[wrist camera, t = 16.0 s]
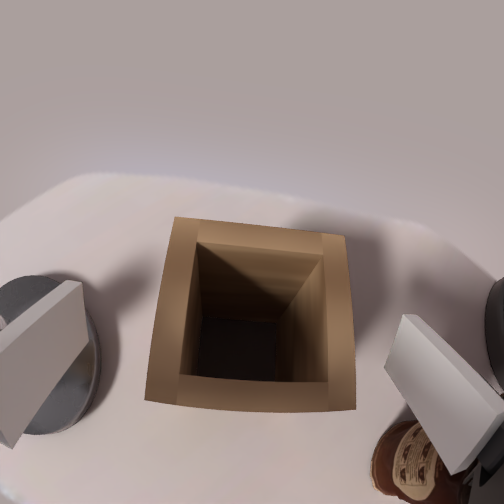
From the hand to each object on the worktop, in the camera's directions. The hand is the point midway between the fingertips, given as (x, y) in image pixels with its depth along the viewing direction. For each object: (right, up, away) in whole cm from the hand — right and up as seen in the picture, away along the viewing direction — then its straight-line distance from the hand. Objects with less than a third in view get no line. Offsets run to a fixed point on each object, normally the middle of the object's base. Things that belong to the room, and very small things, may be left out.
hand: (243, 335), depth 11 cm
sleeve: (-1, -4, +8) cm, 9 cm away
